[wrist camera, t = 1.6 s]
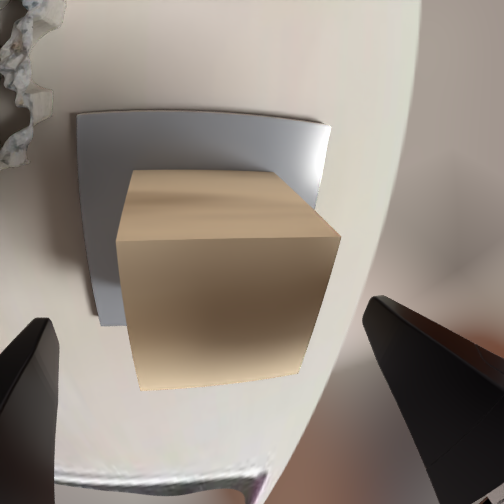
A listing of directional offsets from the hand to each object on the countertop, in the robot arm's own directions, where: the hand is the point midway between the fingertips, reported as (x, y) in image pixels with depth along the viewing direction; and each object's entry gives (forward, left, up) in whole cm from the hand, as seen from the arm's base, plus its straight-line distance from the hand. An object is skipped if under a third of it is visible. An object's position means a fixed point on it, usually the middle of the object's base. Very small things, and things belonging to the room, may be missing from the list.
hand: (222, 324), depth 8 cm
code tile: (0, 0, -5) cm, 5 cm away
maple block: (0, 0, -5) cm, 5 cm away
